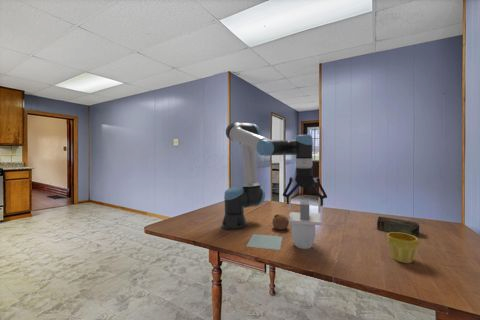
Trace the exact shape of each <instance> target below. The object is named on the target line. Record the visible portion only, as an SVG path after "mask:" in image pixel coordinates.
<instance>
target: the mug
mask: <svg viewBox="0 0 480 320" xmlns="http://www.w3.org/2000/svg"><path fill="white" fill-rule="evenodd" d="M290 225H291V227H290V229H291V230H290V231H291V232H290V233H291V238H292V241H293V244H294V245H295V247H296V248H298V249H300V250H301V249H302V250H309V249H311V247H312V246H313V244H314V241H315V237H316V225H309V224H295V223H290Z"/></svg>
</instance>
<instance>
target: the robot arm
mask: <svg viewBox="0 0 480 320" xmlns="http://www.w3.org/2000/svg"><path fill="white" fill-rule="evenodd" d="M225 136H226V137H227V138H228V140H230V141H232V142H235V143H236V142H237V143H239V144H238V145H240V146H241V151H242V153H241V154H242V162H243V166H242V167H243V176H244V177H243V178H244V184H243V185H242V187H239V186H237V187H235V186H234V187H230V188H227V189H226V190H225V191H224V195H223V196H224V197H223V199H224V215H223V219H222V223H221V226H222V229H223V230H226V231H239V230H243V229H246V228H247V226H248V223H247V220H246V216H245V214H244V213H245V208H251V207H257V206H260V205H262V204H263V203H264V202H265V199H266V193H265V190H264V188H263V187H262V186H261V184H260V183H259V182H258V165H257V155H256V154H257V153H258V155H260V156H265V157H269V156H295V166H296V168H295V177H292V176H289V180H288V181H289V182H288V184H287V185H286V188H285V189H284V191H283V193H282V196H283V197H285V198H286V205H288V212H289V213H290V212H292V211H291V210H292V206H291V205H292V204H291V202H292V200H291V198H292V197H291V196H292V194H293V193H294V192H295V191H296V190H297V189H298V188H299V187H300V188H309V187H310V188H311V190H312V191H313V192H314V193H315V194H316V196H318V199H317V200H318V202H317V203H318V206H317V208H318V209H317V212H318V214H321V207H322V206H324V199H327V198H328V195H327V193H326V192H325V190H324V187H323V186H322V184H321V181H320V180H321V179H320V177H313V175H314V174H313V145H314V143H313V136H312V135H311V134H298V135H296V136H295V139H270V138H267V137H265V136H262V135H261V130H260V128H259V126H258V125H257V124H255V123H251V122H238V121H237V122H235V121H233V122H231V123H229V124H228V125H227V127H226V129H225ZM293 182H296V184H295V185H294V186H293V187H292V188H291V189H290V187H291V185H292V183H293ZM313 182H315V183H317V185H318V188H319V189H320V191H321V193H322V194H321V193H320V191H319V190H318V189H317V188H316V187H315V186H314V185H313ZM289 189H290V191H289V192H288V190H289Z"/></svg>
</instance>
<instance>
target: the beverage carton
mask: <svg viewBox="0 0 480 320" xmlns="http://www.w3.org/2000/svg"><path fill="white" fill-rule="evenodd" d="M376 227H377V228H376V230H379V231H383V232H388V233H391V232H400V233H406V234H410V235H413V236H415V237H416V238H418V237H420V222H417V221H412V220H404V219H398V218H391V217H387V216H378V217H377V221H376Z"/></svg>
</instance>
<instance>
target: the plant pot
mask: <svg viewBox="0 0 480 320" xmlns="http://www.w3.org/2000/svg"><path fill="white" fill-rule="evenodd" d="M386 242H387V243H388V244H389V248H390V251H391V255H392V259H394V261H396V262H399V263H403V264H411V263H412V262H413V261H414V256H415V253H416V250H417V249H418V247H419V239H418V237H417V236H413V235H410V234H406V233H400V232H388V233H387V241H386Z"/></svg>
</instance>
